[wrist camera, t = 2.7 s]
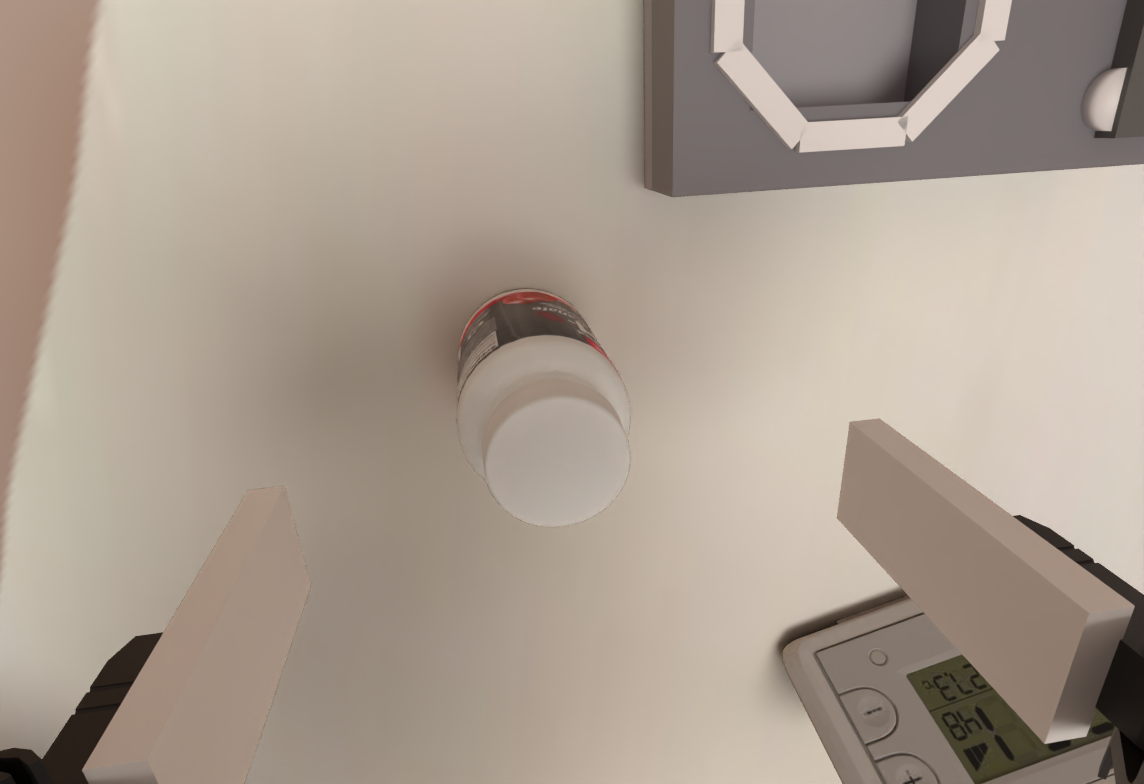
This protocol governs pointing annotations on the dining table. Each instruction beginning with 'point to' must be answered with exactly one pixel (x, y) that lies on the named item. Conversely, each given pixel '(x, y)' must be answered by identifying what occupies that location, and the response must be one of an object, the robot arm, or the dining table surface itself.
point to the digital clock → (923, 709)
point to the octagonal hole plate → (886, 90)
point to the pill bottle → (541, 409)
